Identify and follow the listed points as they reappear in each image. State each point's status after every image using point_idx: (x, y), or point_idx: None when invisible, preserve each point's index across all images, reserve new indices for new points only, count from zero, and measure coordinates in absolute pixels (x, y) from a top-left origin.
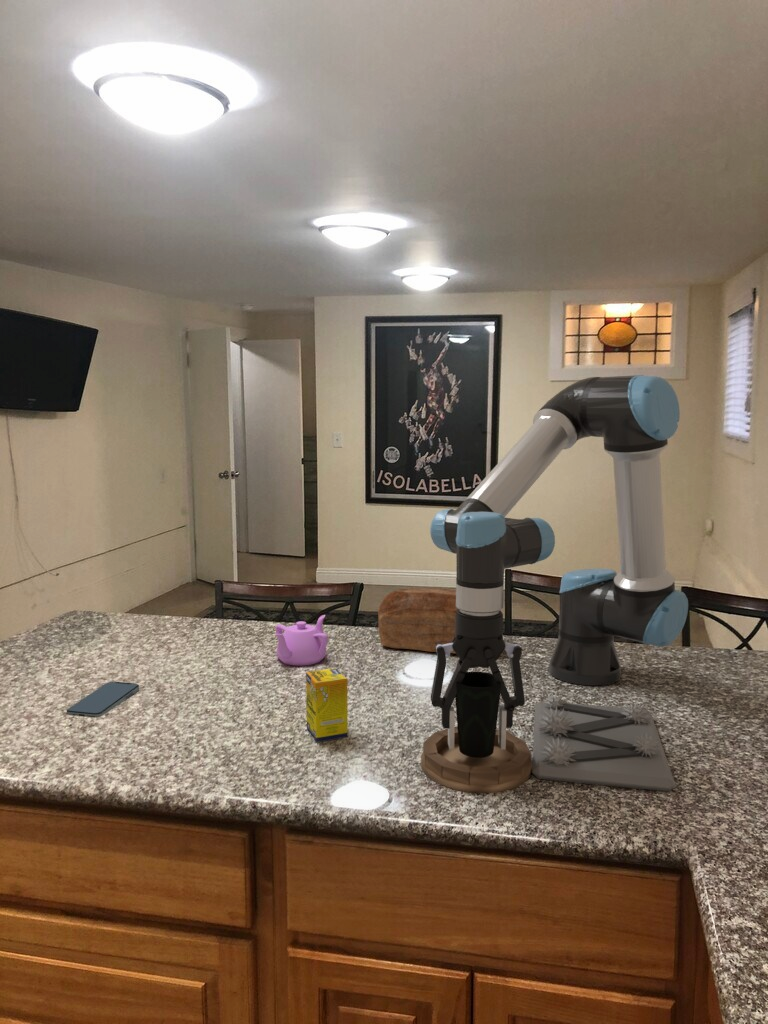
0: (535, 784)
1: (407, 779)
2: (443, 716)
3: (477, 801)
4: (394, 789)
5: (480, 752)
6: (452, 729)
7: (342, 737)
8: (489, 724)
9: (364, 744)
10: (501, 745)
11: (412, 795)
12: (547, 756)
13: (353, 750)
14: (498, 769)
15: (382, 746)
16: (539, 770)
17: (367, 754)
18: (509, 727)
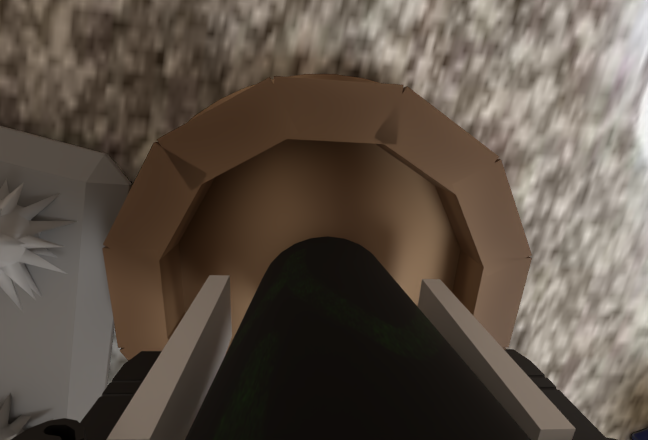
0: (134, 129)
1: (555, 192)
2: (566, 406)
3: (370, 14)
4: (615, 129)
5: (324, 243)
6: (476, 332)
7: (644, 429)
8: (279, 314)
9: (602, 395)
10: (223, 284)
11: (574, 82)
12: (41, 253)
13: (642, 365)
14: (269, 107)
15: (560, 385)
16: (94, 168)
17: (614, 343)
18: (151, 352)
